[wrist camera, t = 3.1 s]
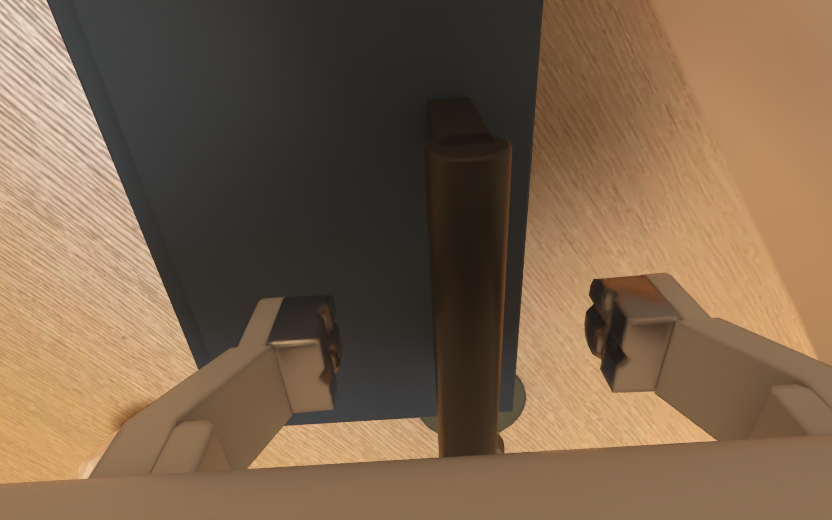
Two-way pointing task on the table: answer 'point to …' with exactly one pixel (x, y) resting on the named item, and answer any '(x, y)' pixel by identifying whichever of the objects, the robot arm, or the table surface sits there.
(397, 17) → the handled storage box
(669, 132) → the table surface
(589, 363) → the table surface
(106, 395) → the table surface
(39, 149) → the table surface
